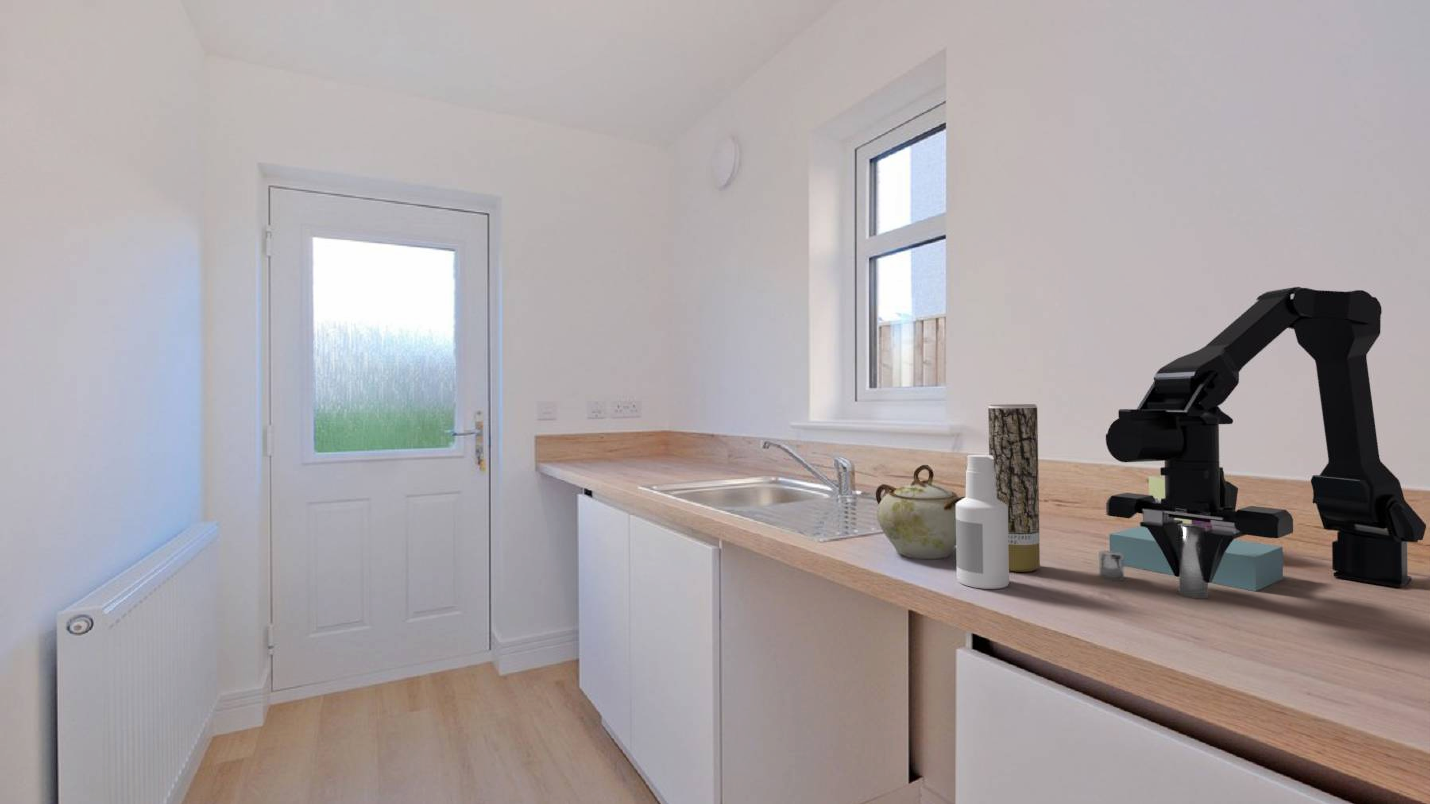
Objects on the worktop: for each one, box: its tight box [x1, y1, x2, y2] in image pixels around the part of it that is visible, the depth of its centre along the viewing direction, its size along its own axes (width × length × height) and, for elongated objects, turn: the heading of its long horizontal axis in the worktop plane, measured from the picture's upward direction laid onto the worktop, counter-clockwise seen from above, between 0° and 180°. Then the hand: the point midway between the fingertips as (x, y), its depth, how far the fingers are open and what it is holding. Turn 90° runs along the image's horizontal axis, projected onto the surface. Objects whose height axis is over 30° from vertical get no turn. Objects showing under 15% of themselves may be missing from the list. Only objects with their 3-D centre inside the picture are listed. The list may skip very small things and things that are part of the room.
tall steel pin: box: [1178, 524, 1209, 600], centre depth 82 cm, size 3×3×9 cm
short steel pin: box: [1098, 550, 1125, 581], centre depth 90 cm, size 3×3×4 cm
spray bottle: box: [955, 454, 1010, 590], centre depth 89 cm, size 7×7×18 cm
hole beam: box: [1109, 525, 1284, 592], centre depth 93 cm, size 18×10×4 cm, turn 32°
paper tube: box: [987, 403, 1041, 573], centre depth 96 cm, size 7×7×25 cm
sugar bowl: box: [875, 464, 966, 560], centre depth 106 cm, size 20×15×15 cm
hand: (1193, 579), depth 82 cm, fingers closed on tall steel pin, 3 cm apart
